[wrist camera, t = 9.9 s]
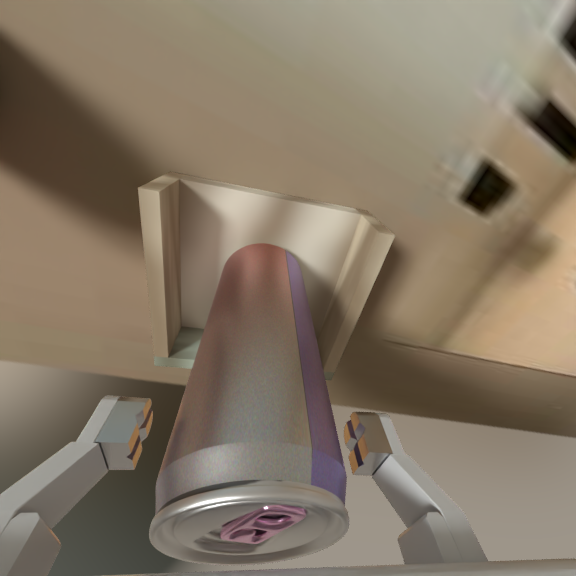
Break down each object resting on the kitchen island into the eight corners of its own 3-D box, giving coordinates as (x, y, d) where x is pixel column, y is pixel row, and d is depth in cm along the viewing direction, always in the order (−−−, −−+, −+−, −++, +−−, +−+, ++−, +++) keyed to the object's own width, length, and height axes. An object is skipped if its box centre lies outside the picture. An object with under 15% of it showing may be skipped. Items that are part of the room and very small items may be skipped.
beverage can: (316, 266, 20) (400, 518, 7) (272, 317, 22) (278, 573, 10) (250, 223, 18) (203, 473, 5) (209, 284, 20) (109, 557, 7)
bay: (367, 211, 19) (395, 235, 15) (320, 338, 26) (331, 380, 22) (170, 171, 17) (137, 187, 13) (174, 322, 24) (154, 365, 20)
